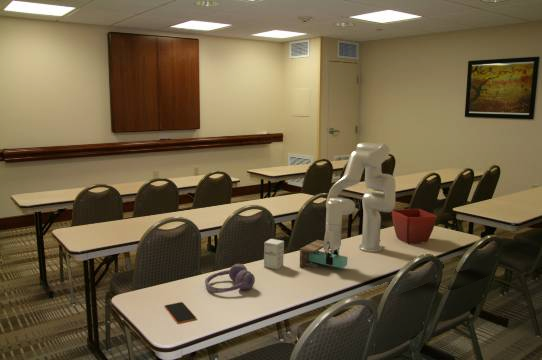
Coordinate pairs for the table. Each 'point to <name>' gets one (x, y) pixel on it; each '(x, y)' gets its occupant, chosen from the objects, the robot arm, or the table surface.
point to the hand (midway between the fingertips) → (332, 262)
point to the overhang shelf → (310, 249)
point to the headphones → (233, 279)
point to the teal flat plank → (321, 258)
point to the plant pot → (413, 225)
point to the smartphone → (180, 312)
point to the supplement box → (273, 253)
